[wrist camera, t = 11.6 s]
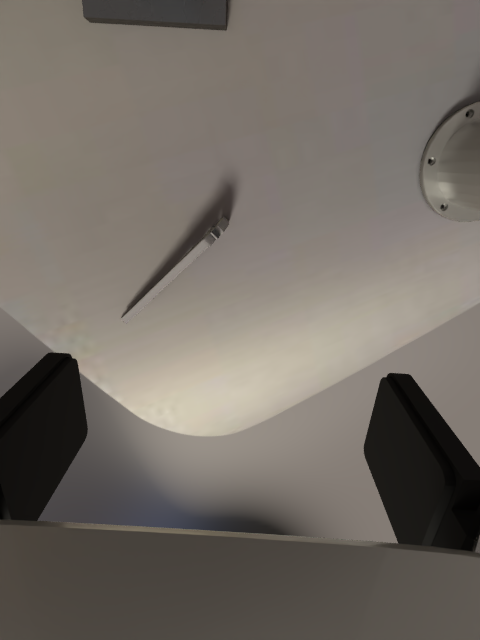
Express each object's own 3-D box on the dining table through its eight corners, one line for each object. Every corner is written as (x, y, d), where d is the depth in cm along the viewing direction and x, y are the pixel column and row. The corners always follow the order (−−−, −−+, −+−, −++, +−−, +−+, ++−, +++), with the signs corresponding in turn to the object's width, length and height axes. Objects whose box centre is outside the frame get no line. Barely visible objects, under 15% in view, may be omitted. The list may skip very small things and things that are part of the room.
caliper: (223, 214, 44) (220, 222, 38) (229, 221, 45) (227, 229, 39) (121, 317, 50) (105, 337, 45) (127, 322, 51) (111, 343, 45)
